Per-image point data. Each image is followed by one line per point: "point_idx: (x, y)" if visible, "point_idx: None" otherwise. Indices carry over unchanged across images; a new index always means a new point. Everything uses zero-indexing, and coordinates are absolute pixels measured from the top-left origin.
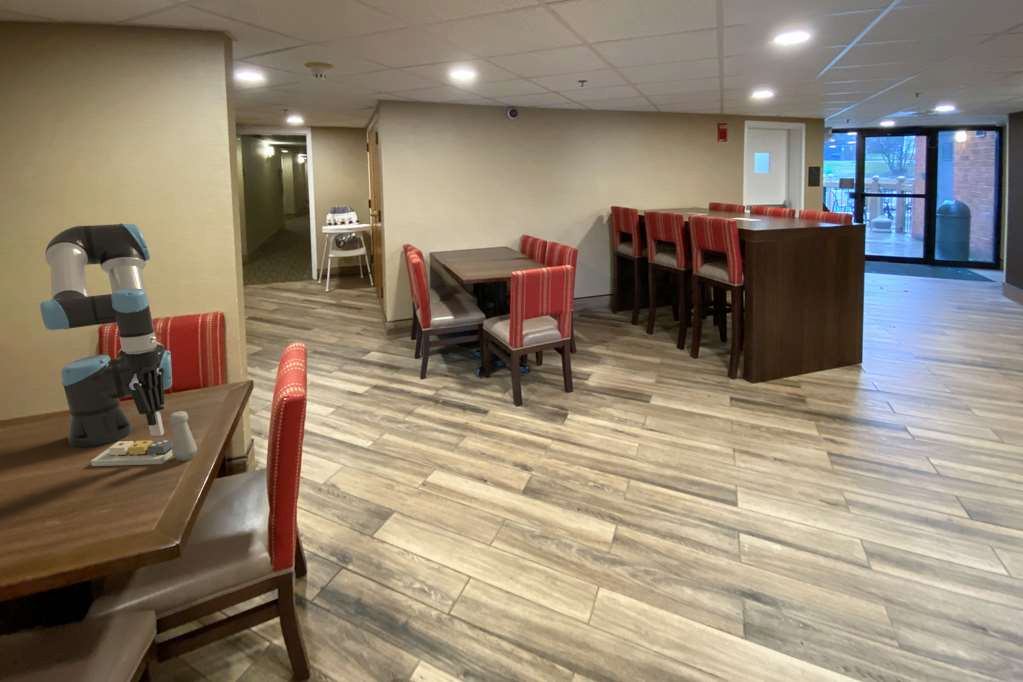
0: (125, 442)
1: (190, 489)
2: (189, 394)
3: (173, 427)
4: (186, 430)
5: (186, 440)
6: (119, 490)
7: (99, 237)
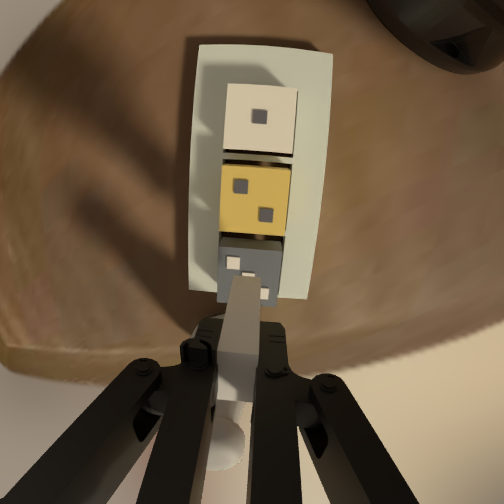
0: (280, 125)
1: (89, 373)
2: None
3: None
4: None
5: None
6: (61, 235)
7: None
